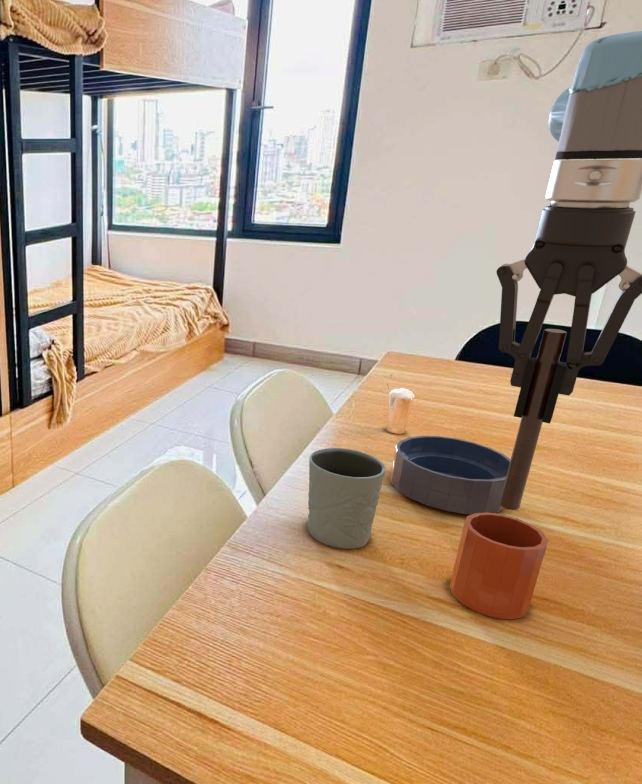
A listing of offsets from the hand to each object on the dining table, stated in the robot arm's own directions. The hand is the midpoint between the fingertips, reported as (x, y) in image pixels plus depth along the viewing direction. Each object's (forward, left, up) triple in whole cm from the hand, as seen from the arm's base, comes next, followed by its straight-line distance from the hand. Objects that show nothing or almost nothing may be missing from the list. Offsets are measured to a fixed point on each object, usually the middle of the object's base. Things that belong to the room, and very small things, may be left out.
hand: (533, 416), depth 72 cm
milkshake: (+24, -50, -25) cm, 61 cm away
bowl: (+10, -28, -25) cm, 39 cm away
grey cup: (+20, -3, -25) cm, 32 cm away
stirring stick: (0, 0, -12) cm, 12 cm away
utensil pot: (0, 0, -25) cm, 25 cm away
